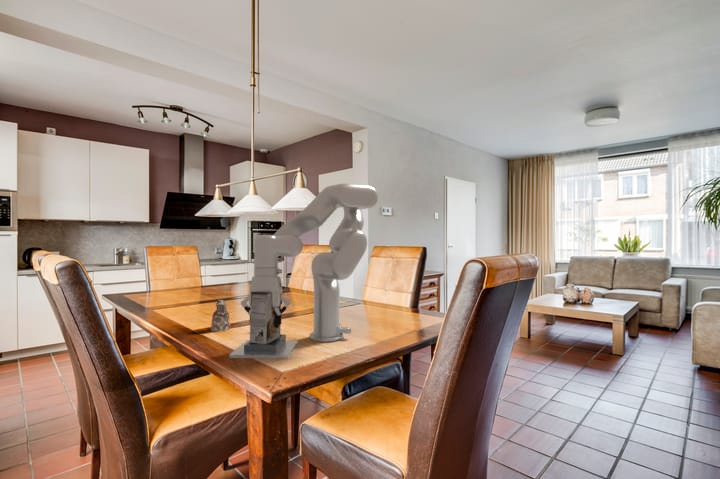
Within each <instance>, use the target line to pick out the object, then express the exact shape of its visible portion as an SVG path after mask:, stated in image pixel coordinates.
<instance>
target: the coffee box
mask: <svg viewBox="0 0 720 479" xmlns="http://www.w3.org/2000/svg"><path fill="white" fill-rule="evenodd" d="M279 306H280V307H281V308H282V304H281V305H279ZM250 308H251V315H249V340H250V343H259V344H268V343H270V342H272V341H274V340H276V339H278V338H280V334H281V325H280V326H279V327H278V328H276V327H275V316H276V315H277V313H276V311H275V309H274V308H273V305H272V293H266V292H251V306H250Z"/></svg>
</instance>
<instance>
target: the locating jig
mask: <svg viewBox="0 0 720 479" xmlns="http://www.w3.org/2000/svg"><path fill="white" fill-rule="evenodd" d="M298 344H299V340H287V335H286V334H281V333H280V338H278V339H276V340H274V341H272V342H270V343H268V344H259V343H250V339H247V340H245V341H244V342H243V343H242V344H240V345H239V346H238V347H237V348H235V350H233V351H232V352H230V353H229V356H228V358H229V359H264V360H265V359H275V360H277V359H280V360H288V359H289V358H290V357H291V355H292V353H293V352H294V350H295V349H296V348H297V346H298Z"/></svg>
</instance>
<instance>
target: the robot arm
mask: <svg viewBox="0 0 720 479" xmlns="http://www.w3.org/2000/svg"><path fill="white" fill-rule="evenodd" d="M378 194H379V193H378V191H377V190H376V188H374V187H373V186H371V185H367V184H366V185H363V184H353V183H338V184H333V185H329V186H326V187H324V188H323V189H322V190H321V191H320V192H319V193H318V194H317V195H316V197H315V198H314V199H313V200H312V201H311V202H310V203H309V204H308V205H307V206H306V207H305V208H304V209H302V211H300V212H298V213H296V215H295V216H293V217H292V218H291V219H289V220H287V221H286V222H285V223H284V224H283V225H281V227H279V229H278V230H277V231H276V232H275V233H274V234H258V235H256V236H255V237H254V242H253V243H254V245H253V246H254V248H253V249H254V254H253V255H254V256H253V258H254V259H253V260H254V263H253V276H252V277H251V280H250V281H251V282H250V286H249V295H248V296H247V297H245V298H244V299H243V300H241V301H240V305H241V306H242V307H243V308H244V310H245V311H246V313H248V315H249V316H250V315H251V292H266V293H272V305H273V308H274V309H275V311H276V313H277V315H276V316H275V327H276V328H278V327H279V326H280V327H281V325H282V314H283V313H284V312H285V311H287V309H288V308H289V306H290V305H291V304H292V302H291V301H290V300H289V299H288V298H286V297H285V296H284V294H283V286H282V280H281V279H282V278H281V276H279V275H280V274H283V269H280V268H279V257H285V258H287V257H288V258H293V257H296V256H299V255H300V254H301V253H302V251H303V249H304V243H303V241H302V239H301V237H302V236H304V235H305V234H307V233H309V232H312V231H315V230H316V229H319V228H320V227H322V226H323V225H324V223H325V222H327V221H328V220H329V218H330V217H331V215H332V214H333V213H334V212H335V211H337V209H338V208H339V209H340V208H343V217H342V220H341V221H340V223H339V225H337V226H338V227H337V228H336V230H335V231H334V232H333V234H332V236H331V237H330V240H329V243H328V247H329V249H330V251H331V252H327V251H325V252H324V251H322V252H320V253H318V254H316V255H315V256H314V257H313V258H312V261H311V273H312V274H311V275H312V280H313V332H310V333H309V339H310V340H311V341H316V342H321V343H322V342H325V343H327V342H328V343H330V342H336V341H340V340H342V339H343V338H344V334H352V328H351V327H348V326H345V327H343V326H341V325H342V324H341V323H340V296H341V295H340V292H341V291H340V284H339V281H343V280H347V279H348V278H349V277H350V276H351V275H353V273H354V271H355V270H356V268H357V266H358V265H359V263H360V261H361V260H362V258H363V256H364V254H365V253H366V251H367V247H368V240H367V238H368V237H367V236H366V234H365V232H363V231H362V229H364V228H363V227H364V223H365V222H364V216H363V212H362V210H367V209H371V208H373V207H375V206H376V205H377V203H378V201H379V195H378ZM282 304H284V305H283V307H282ZM279 305H281V307H280V306H279Z"/></svg>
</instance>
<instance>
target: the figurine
mask: <svg viewBox="0 0 720 479" xmlns="http://www.w3.org/2000/svg"><path fill="white" fill-rule="evenodd" d="M215 307H216V310H215V311H214V312H213V313H212V316H211V317H212V318H211V324H210V325H211V326H210V332H215V333H216V332H218V333H219V332H220V333H221V332H227V331H230V329H231V322H230V312H229V311H228V310H227V302H226V301H225V300H223V299H220V298H218V299H217V301H216V304H215Z"/></svg>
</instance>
